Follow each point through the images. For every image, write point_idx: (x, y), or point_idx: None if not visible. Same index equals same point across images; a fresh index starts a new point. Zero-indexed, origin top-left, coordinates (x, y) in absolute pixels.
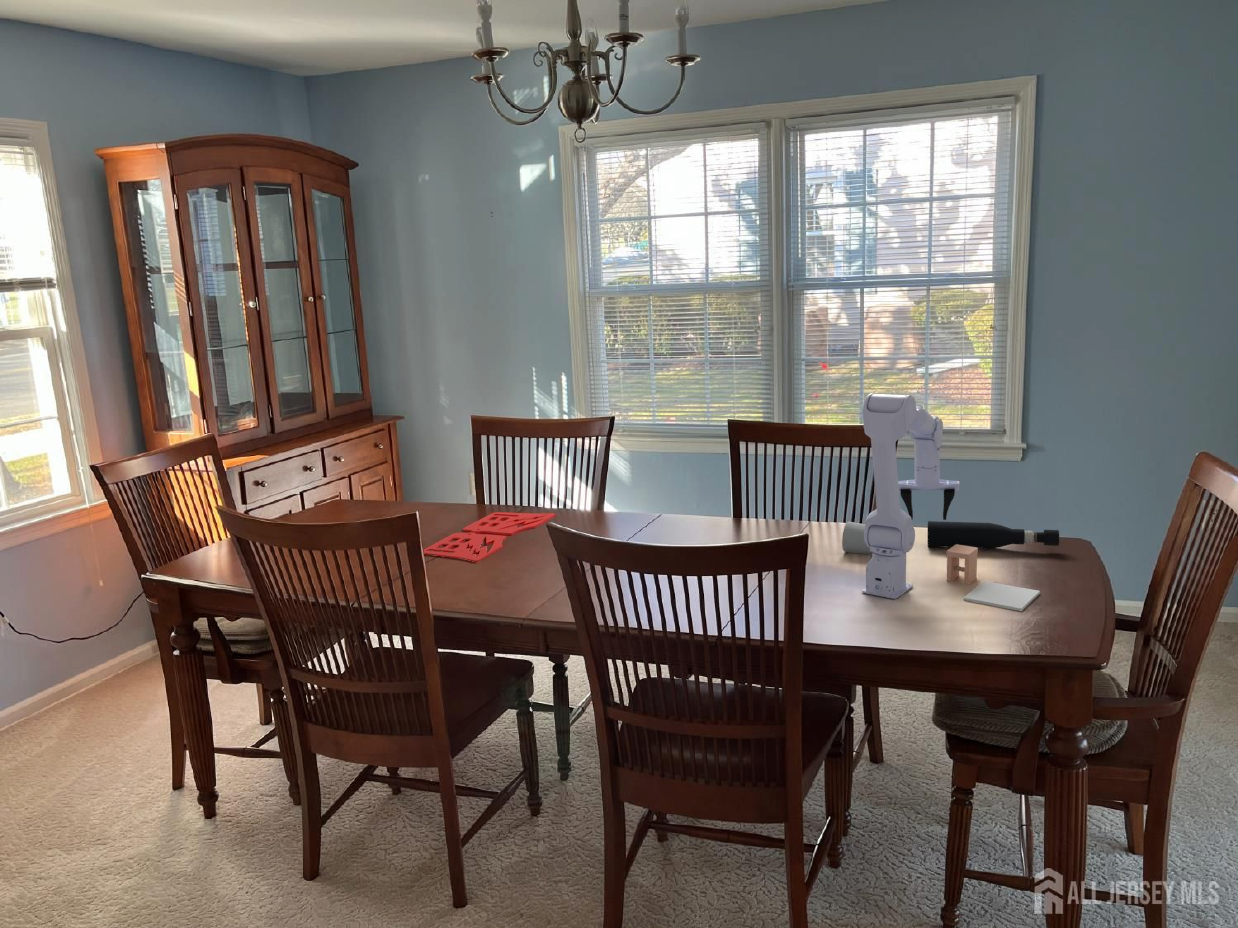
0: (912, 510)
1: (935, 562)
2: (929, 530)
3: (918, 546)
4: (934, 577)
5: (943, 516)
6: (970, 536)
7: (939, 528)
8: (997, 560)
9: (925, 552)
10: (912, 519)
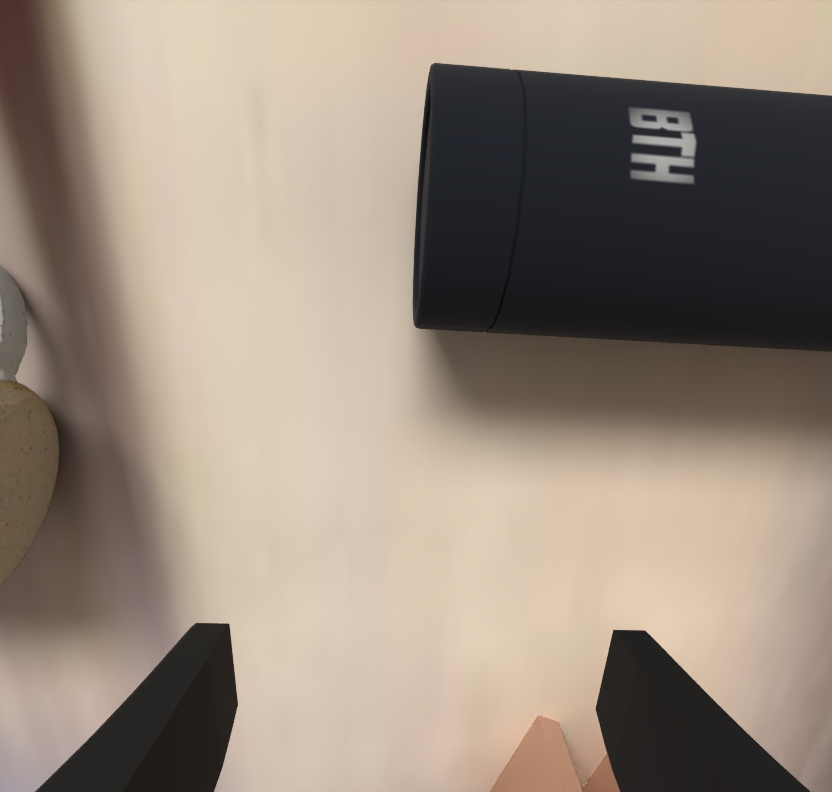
0: (194, 694)
1: (451, 555)
2: (435, 318)
3: (345, 233)
4: (433, 765)
5: (616, 766)
6: (774, 346)
7: (536, 312)
8: (817, 475)
9: (395, 372)
10: (236, 705)
